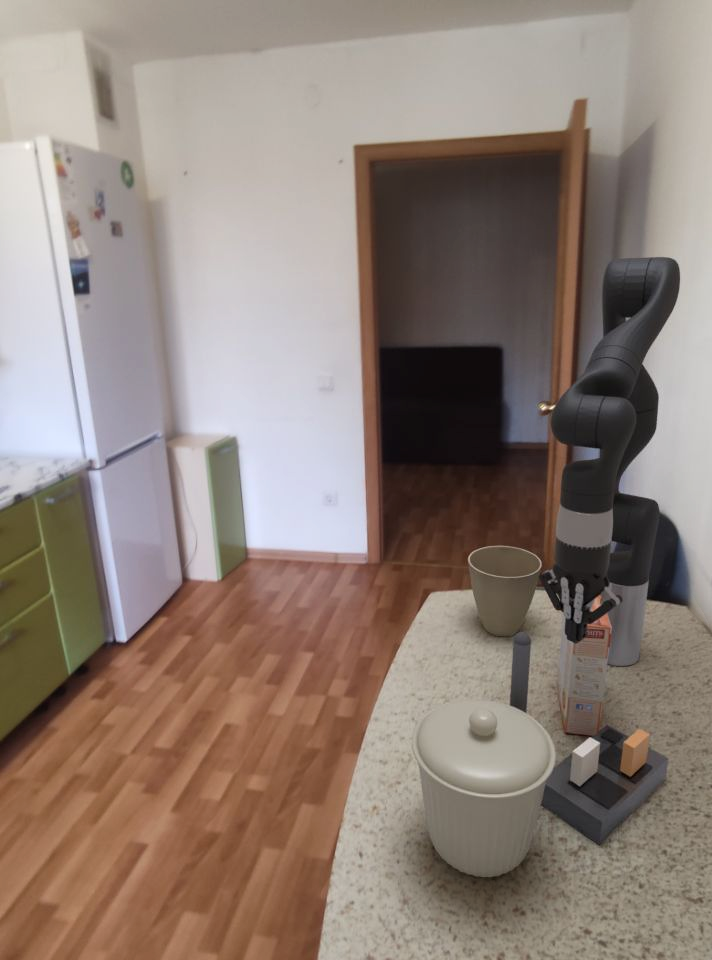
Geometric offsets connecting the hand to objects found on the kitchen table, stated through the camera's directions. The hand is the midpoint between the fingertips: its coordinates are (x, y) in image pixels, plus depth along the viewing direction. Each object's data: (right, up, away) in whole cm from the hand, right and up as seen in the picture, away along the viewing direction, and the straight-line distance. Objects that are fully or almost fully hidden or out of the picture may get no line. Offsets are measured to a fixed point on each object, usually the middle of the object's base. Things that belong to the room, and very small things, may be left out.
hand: (574, 639), depth 99 cm
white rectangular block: (0, -19, -4) cm, 19 cm away
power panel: (+4, -22, -2) cm, 22 cm away
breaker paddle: (+7, -18, -3) cm, 20 cm away
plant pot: (-2, -8, +42) cm, 43 cm away
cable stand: (-9, -22, +1) cm, 23 cm away
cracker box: (+6, -16, +16) cm, 24 cm away
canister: (-16, -25, -9) cm, 32 cm away
